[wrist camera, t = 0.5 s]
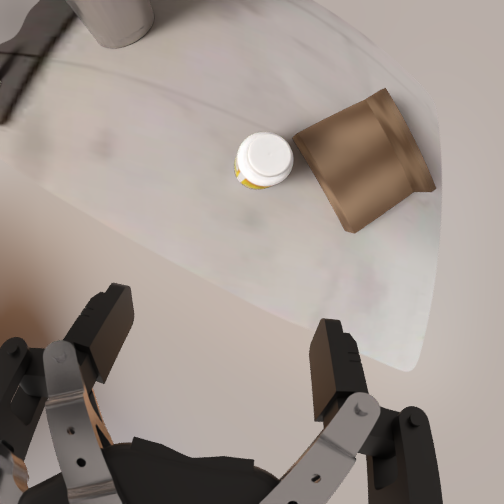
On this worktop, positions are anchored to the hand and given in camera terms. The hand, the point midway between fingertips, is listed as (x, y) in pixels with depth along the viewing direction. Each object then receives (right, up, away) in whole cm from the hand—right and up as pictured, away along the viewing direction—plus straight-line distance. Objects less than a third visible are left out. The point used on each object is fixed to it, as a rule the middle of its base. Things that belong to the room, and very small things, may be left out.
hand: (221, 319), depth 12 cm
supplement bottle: (+2, +13, +23) cm, 27 cm away
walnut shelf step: (+15, +15, +24) cm, 32 cm away
